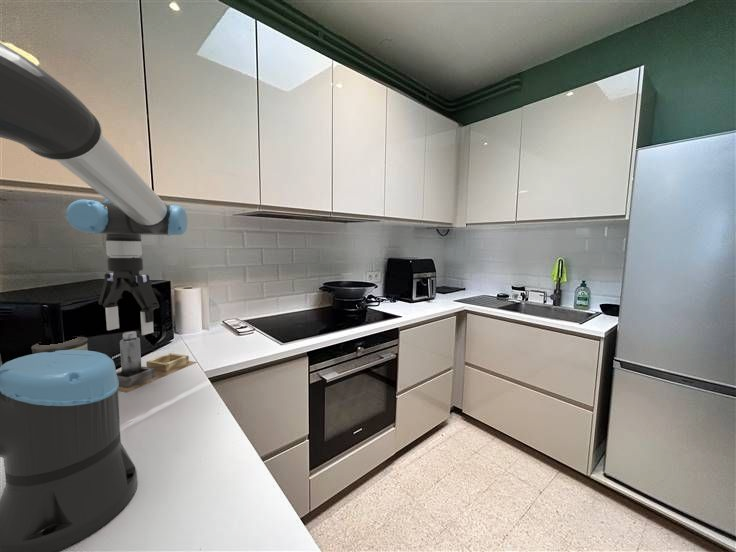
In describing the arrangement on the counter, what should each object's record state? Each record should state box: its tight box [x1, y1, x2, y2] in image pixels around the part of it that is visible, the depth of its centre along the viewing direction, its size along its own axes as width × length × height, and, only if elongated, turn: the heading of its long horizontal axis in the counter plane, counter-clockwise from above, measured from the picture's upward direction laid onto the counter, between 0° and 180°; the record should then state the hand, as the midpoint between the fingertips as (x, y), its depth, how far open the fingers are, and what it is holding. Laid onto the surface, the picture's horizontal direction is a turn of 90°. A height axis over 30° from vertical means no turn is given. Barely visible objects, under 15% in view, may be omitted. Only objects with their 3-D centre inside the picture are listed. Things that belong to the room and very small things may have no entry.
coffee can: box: [30, 336, 89, 354], centre depth 78 cm, size 10×10×14 cm
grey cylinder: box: [119, 330, 142, 377], centre depth 82 cm, size 4×4×14 cm
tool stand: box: [116, 352, 198, 393], centre depth 88 cm, size 22×12×4 cm, turn 164°
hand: (130, 331), depth 82 cm, fingers open, 13 cm apart
